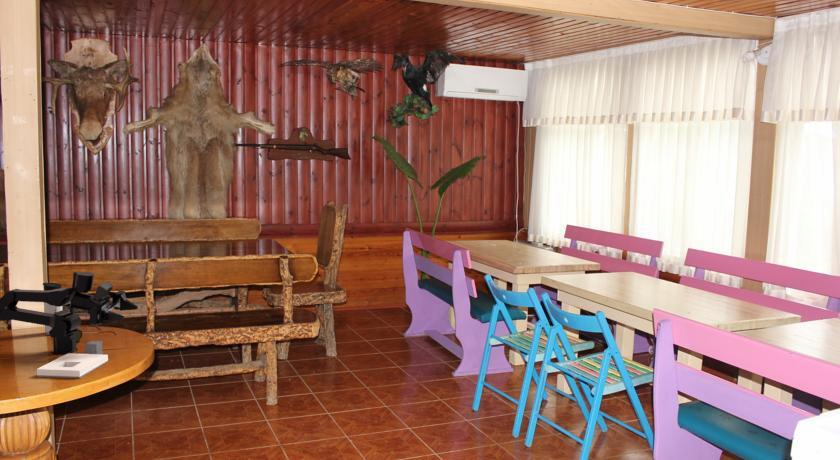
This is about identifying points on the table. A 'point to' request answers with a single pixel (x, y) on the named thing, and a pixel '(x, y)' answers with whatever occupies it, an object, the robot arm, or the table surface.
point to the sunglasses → (79, 333)
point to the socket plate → (72, 365)
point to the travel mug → (51, 308)
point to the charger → (94, 347)
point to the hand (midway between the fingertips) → (130, 312)
